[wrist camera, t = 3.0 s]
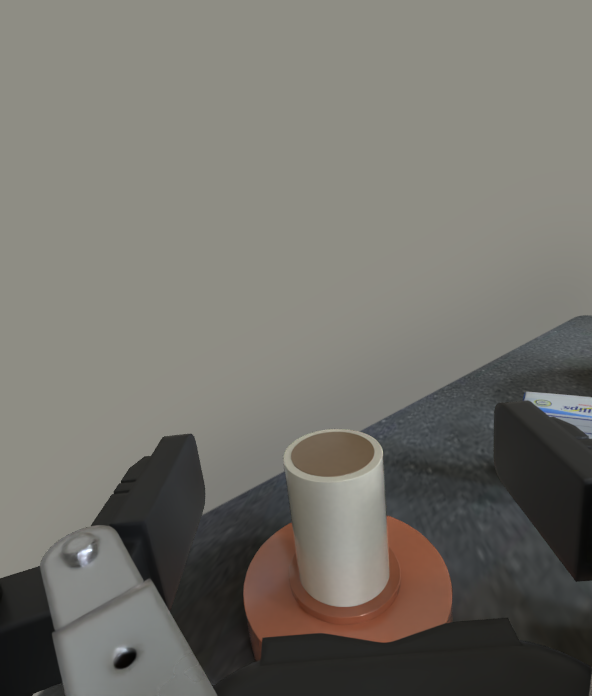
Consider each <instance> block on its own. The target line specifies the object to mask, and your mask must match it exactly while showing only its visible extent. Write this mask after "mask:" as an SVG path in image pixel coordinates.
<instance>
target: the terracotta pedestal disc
mask: <svg viewBox="0 0 592 696" xmlns="http://www.w3.org/2000/svg"><path fill="white" fill-rule="evenodd" d="M387 529H388V545H389V562H390V575H389V580H388V582H387V584H386V586H385V588H384V589H383V590H382V592H381V593H380V594H379V595H378V596H376V597H375V598H374V599H372V600H370V601H368V602H366V603H364V604H361V605H357V606H352V607H336V606H331V605H327V604H324V603H322V602H320V601H318V600H316V599H315V598H313V597H312V596H311V595H309V594H308V593H307V591H306V590H305V589H304V587H303V586H302V584H301V581H300V578H299V572H298V565H297V558H296V550H295V543H294V536H293V528H292V523H290V524H288V525H286V526H285V527H283V528H282V529H280V530H279V531H277V532H276V533H275V534H273V535H272V536H271V537H270V538H269V539H268V540H267V541H266V542H265V543H264V544H263V545H262V546H261V548H260V549H259V550H258V552H257V553H256V554H255V556H254V558H253V560H252V561H251V563H250V566H249V568H248V571H247V573H246V577H245V582H244V591H243V599H244V608H245V613H246V619H247V624H248V629H249V635H250V640H251V645H252V650H253V654H254V658H255V660H256V661H259V660H260V659H261V648H262V638H264V637H276V636H288V635H301V634H313V633H326V634H332V635H338V636H344V637H350V638H356V639H363V640H369V641H375V642H382V643H387V642H392V641H395V640H398V639H401V638H404V637H407V636H410V635H413V634H415V633H418V632H421V631H424V630H427V629H430V628H433V627H436V626H438V625H441V624H444V623H449V622H452V585H451V579H450V575H449V572H448V569H447V567H446V565H445V563H444V561H443V559H442V557H441V555H440V554H439V553H438V551H437V550H436V548H435V547H434V546H433V545H432V544H431V543H430V542H429V540H428V539H426V538H425V537H424V536H423V535H422V534H421V533H420V532H418V531H417V530H415V529H414V528H412V527H411V526H409V525H407V524H405V523H404V522H402V521H400V520H397V519H395V518H393V517H390V516H387Z"/></svg>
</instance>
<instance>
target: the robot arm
mask: <svg viewBox="0 0 592 696" xmlns="http://www.w3.org/2000/svg"><path fill="white" fill-rule="evenodd" d="M494 465H495V469H496V473H497V475H498V478H499V479H500V481H501V483H502V484H503V485H504V487H505V488H506V489H507V491H508V492H509V493H510V495H511V496H512V497H513V499H514V500H515V501H516V502H517V504H518V505H519V506H520V508H521V509H522V510H523V512H524V513H525V514H526V516H527V517H528V518H529V520H530V521H531V522H532V524H533V525H534V526H535V528H536V529H537V530H538V532H539V533H540V534H541V536H542V537H543V538H544V540H545V541H546V542H547V544H548V545H549V546H550V548H551V549H552V550H553V552H554V553H555V554H556V556H557V557H558V558H559V560H560V561H561V562H562V564H563V565H564V566H565V568H566V569H567V570H568V572H569V573H570V574H571V576H572V577H573V578H574V579H575V581H576V582H577V581H589V580H592V439H589V436H588V435H586V434H585V433H584V432H583V431H581V430H580V429H579V428H577V427H576V426H575V425H573V424H570V423H568V422H565V421H563V420H561V419H558V418H556V417H549V416H548V415H547V414H546V413H544V412H543V411H542V410H541V409H539V408H538V407H537V406H536V405H535V404H533V403H532V402H531V401H528V400H525V401H516V402H506V403H498V404H497V405H496V407H495V411H494ZM204 505H205V485H204V480H203V475H202V470H201V465H200V460H199V455H198V451H197V445H196V441H195V438H194V436H193V435H192V434H183V435H174V436H164V437H163V438H162V439H161V441H160V442H159V444H158V446H157V447H156V449H155V451H154V452H153V454H152V455H151V456H146V457H143V458H142V459H141V460H140V461H138V462H137V463H136V464H134V465H133V466H132V467H130V468H129V470H128V471H127V473H126V474H125V476H124V477H123V479H122V480H121V483H120V484H119V485H118V486H117V488H116V489H115V490H114V494H112V495H111V496H110V498H109V500H108V501H107V502H106V504H105V506H104V507H103V508H102V510H101V512H100V513H99V514H98V516H97V517H96V519H95V520H94V522H93V523H92V525H91V526H90V527H86V528H83V529H80V530H77V531H75V532H72V533H71V534H68V535H67V536H65V537H63V538H62V539H60V540H59V541H58V542H56V543H55V544H54V545H53V546H52V547H50V549H49V550H48V551H47V552H46V553H45V555H44V556H43V558H42V560H41V563H40V566H38V567H36V568H32V569H29V570H26V571H23V572H19V573H16V574H13V575H10V576H7V577H4V578H0V696H32V695H33V694H34V693H36V692H39V691H41V690H44V689H47V688H49V687H52V686H54V685H57V684H60V683H62V682H63V686H64V690H65V695H66V696H592V667H590V666H588V665H587V664H585V663H583V662H581V661H579V660H577V659H575V658H573V657H571V656H569V655H567V654H564V653H562V652H560V651H557V650H554V649H551V648H549V647H546V646H542V645H539V644H535V643H531V642H527V641H521V640H519V639H518V637H517V635H516V633H515V631H514V629H513V627H512V625H511V623H510V621H509V619H508V618H499V619H486V620H474V621H461V622H449V623H444V624H441V625H438V626H436V627H433V628H430V629H427V630H424V631H421V632H418V633H415V634H413V635H410V636H407V637H404V638H401V639H398V640H395V641H392V642H387V643H382V642H375V641H369V640H363V639H356V638H350V637H344V636H338V635H332V634H326V633H313V634H301V635H288V636H276V637H264V638H262V648H261V659H260V660H259V661H256V662H254V663H251V664H249V665H247V666H245V667H243V668H241V669H239V670H237V671H235V672H233V673H232V674H230V675H229V676H227V677H225V678H224V679H223V680H221V681H220V682H219V683H218V684H216V685H215V686H214V687H212V685H211V683H210V682H209V680H208V678H207V676H206V675H205V673H204V671H203V669H202V668H201V666H200V664H199V662H198V661H197V659H196V657H195V655H194V654H193V652H192V650H191V648H190V647H189V645H188V643H187V641H186V640H185V638H184V636H183V634H182V633H181V631H180V629H179V627H178V626H177V624H176V622H175V620H174V619H173V617H172V615H171V613H170V610H171V607H172V604H173V601H174V598H175V595H176V592H177V589H178V586H179V583H180V580H181V576H182V573H183V570H184V567H185V564H186V561H187V558H188V555H189V552H190V549H191V546H192V543H193V540H194V537H195V534H196V531H197V528H198V525H199V522H200V518H201V515H202V512H203V509H204Z"/></svg>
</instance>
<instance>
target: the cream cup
mask: <svg viewBox="0 0 592 696" xmlns="http://www.w3.org/2000/svg"><path fill="white" fill-rule="evenodd" d="M283 462H284V470H285V477H286V484H287V492H288V499H289V506H290V514H291V521H292V528H293V536H294V543H295V550H296V558H297V565H298V572H299V578H300V581H301V584H302V586H303V587H304V589H305V590H306V591H307V593H308V594H309V595H311V596H312V597H313V598H315V599H316V600H318V601H320V602H322V603H324V604H327V605H331V606H336V607H352V606H357V605H361V604H364V603H366V602H368V601H370V600H372V599H374V598H375V597H376V596H378V595H379V594H380V593H381V592H382V590H383V589H384V588H385V586H386V584H387V582H388V580H389V575H390V562H389V545H388V529H387V512H386V495H385V478H384V461H383V450H382V447H381V445H380V444H379V443H378V441H376V440H375V439H374V438H373V437H371V436H369V435H367V434H365V433H362V432H358V431H354V430H347V429H329V430H322V431H317V432H313V433H310V434H307V435H305V436H302V437H300V438H299V439H297V440H296V441H294V442H293V443H291V444H290V445H289V446H288V448H287V449H286V451H285V453H284V457H283Z"/></svg>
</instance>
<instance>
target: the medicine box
mask: <svg viewBox="0 0 592 696" xmlns="http://www.w3.org/2000/svg"><path fill="white" fill-rule="evenodd" d="M525 400H528V401H531V402H532V403H533V404H535V405H536V406H537V407H538V408H539V409H541V410H542V411H543V412H544V413H546V414H547V415H548V416H549V417H556V418H558V419H561V420H563V421H565V422H568V423H570V424H573V425H575V426H576V427H577V428H579V429H580V430H581V431H583V432H584V433H585V434H586V435H588V436H589V439H592V397H583V396H572V395H561V394H549V393H536V392H525V393H524V398H523V401H525Z"/></svg>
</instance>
